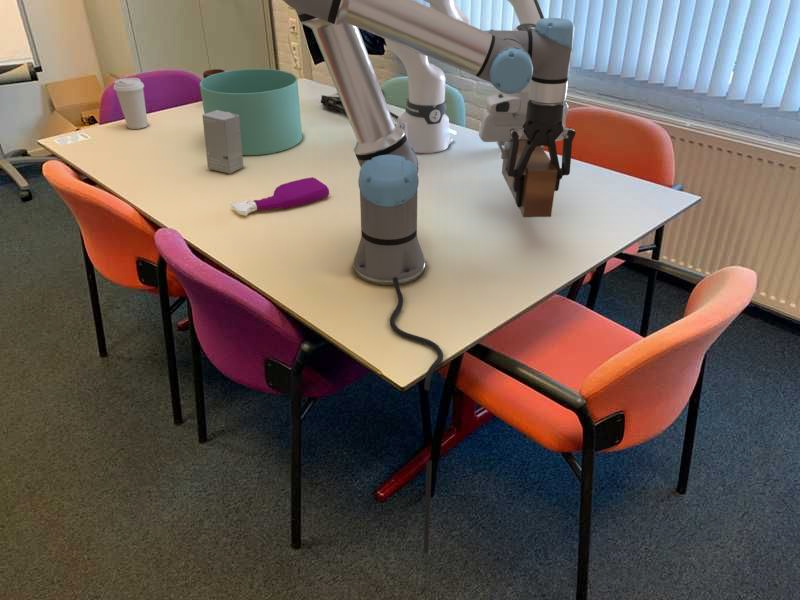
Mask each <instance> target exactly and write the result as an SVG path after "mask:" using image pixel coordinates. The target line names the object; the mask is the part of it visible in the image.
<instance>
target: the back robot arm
mask: <svg viewBox="0 0 800 600" xmlns="http://www.w3.org/2000/svg"><path fill="white" fill-rule="evenodd" d="M423 1H424V2H426V3H428V4H429V7H430V8H432V9H434V10H437V11H439V12H441V13H444V14H446V15H448V16H450V17H453V18H455V19H457V20H460V21H462V22H464V23H467V24H469V25H471V26H472V23H471V21H470V19H469V17H468V16H467V15H466V13H464V12H463V10H461V9H460V7H459V6H458V4H457V2H456V0H423ZM507 2H508V3H510V5H511V6H512V8H513V10H514V12H515V15H516V17H517V20H518V23H519V24H518V25H517V26H515V27H514V29H513V30H512V31H530V30H535V27H536V23H537V21H538V20H540V19H543V18H545V17H544V14H543V11H542V9H541V6H540V3H539V1H538V0H507ZM384 42H385V44H386V47H387V48H388V50H389V51H390V52H391V53H392V54H394V55H395V56H396V57H397V58H398V59H399V60H400V61H401V63H402V65H403V66H404V68H405V71H406V76H407V86H408V98H406V99H405V103H406V104H405V111H404V112H403V113H402V114H401V115H400V116H398V115H397V114H395V113H393V112H392V111H390V110H389V112H390V114H391V117H394V118H395V119H396V123H394V125H395V126H396V127H399V128H401V129H403V130H404V132H405V135H406V137H407V140H408V143H409V145H410V146H411V147H412V148H413V150H414V152H415V153H420V154H432V153H437V152H438V153H439V152H442V151H445V150H446V149H448V148H449V146H450V145H451V144H452V143H453V142H454V139H453V137H450V134H453V135H456V136H457V131H456V130H453V129H451V128H450V118H449V116H448V115H447V114H446V113H447V100H446V79H447V78H446V75H445V72H444V71H443V70H442V69H441V68H440V67H438V66H437V65H434V64H433V63H430V62H429V57H428V56H426V55H424V54H421V53H419V52H416V51H414V50H411V49H409V48H407V47H404V46H402V45H399V44H397V43H395V42H392V41H390V40H387V39H385V38H384ZM529 87H530V82H529V84H528V85H527V86H526V87H525V88H524V89H523V90H521V91H520V92H517V93H514V94H506V93H503V92H501V91H499V92H498V93H494V94H491V95H489V96H487V97H486V101H485V102H486V107H485V108H484V109H483V111H482V114H481V117H480V122H479V129H478V136H479V138H480V140H481V141H482V142H484V143H496V144H497V146H498V148H499V149H500V159H501V160H503V159H508V151H507V150H504V145H505V142H510V140H511V135H510V130H511V129H512V128H514V129H515V130H516V129H519V128H523V125H524V124H525V121H526V113H527V104H528V101H529V100H530V99H529V97H528V95H529ZM381 90H382V93H383V96H384V97H385V92H384V90H383V89H382V88H381ZM563 102H564V104H565V106H564V114H563V120H562V124H563V127H565V128H566V118H567V117H568V114H569V105H568V104H567V103H568V102H565V101H563ZM562 134H563V133H561V134H560V136H559V137H558V138H557V139H556V140H555V142H557V141H559V142H560V141H563V139H564V137H563V136H562ZM521 139H528V138H527V137H526V135H525V133H524V134H522V137H521ZM541 147H542V149H544V148H545V146H543V145H542V146H541Z"/></svg>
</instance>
